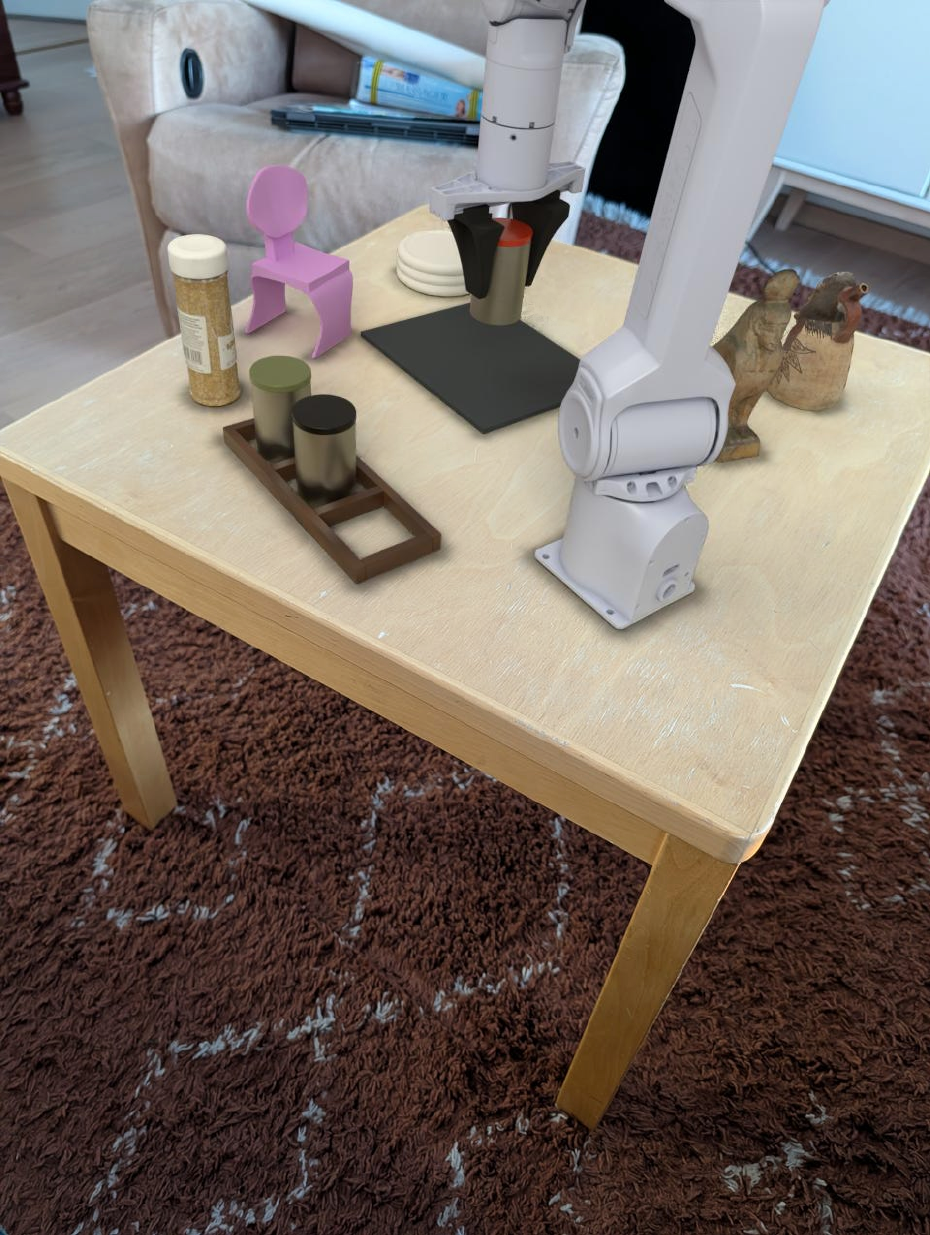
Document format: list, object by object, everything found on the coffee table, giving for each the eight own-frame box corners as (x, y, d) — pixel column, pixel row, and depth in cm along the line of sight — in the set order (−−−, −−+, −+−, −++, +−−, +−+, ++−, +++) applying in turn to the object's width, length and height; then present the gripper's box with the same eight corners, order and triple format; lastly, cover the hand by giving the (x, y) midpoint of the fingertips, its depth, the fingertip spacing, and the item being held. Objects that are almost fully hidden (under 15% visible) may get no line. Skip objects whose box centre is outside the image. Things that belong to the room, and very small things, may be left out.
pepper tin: (368, 499, 73) (368, 417, 67) (315, 518, 70) (312, 435, 65) (336, 469, 75) (335, 387, 70) (285, 487, 73) (279, 404, 68)
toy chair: (312, 365, 86) (305, 201, 76) (237, 337, 89) (221, 175, 79) (361, 331, 92) (362, 174, 81) (290, 306, 95) (281, 150, 84)
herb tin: (324, 457, 76) (322, 376, 71) (273, 474, 74) (267, 392, 69) (296, 430, 79) (292, 349, 73) (246, 445, 76) (238, 364, 71)
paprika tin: (532, 318, 82) (544, 234, 76) (490, 330, 79) (500, 244, 74) (499, 297, 84) (508, 213, 79) (458, 308, 82) (465, 223, 77)
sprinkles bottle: (250, 400, 81) (235, 250, 72) (200, 413, 79) (179, 260, 70) (229, 376, 84) (212, 228, 75) (180, 388, 82) (157, 236, 73)
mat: (614, 387, 88) (615, 382, 88) (483, 434, 81) (483, 429, 80) (487, 302, 99) (487, 297, 99) (360, 336, 91) (360, 331, 91)
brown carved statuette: (750, 477, 83) (849, 314, 69) (696, 482, 82) (785, 316, 67) (701, 387, 90) (782, 218, 75) (650, 390, 88) (722, 219, 73)
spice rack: (440, 549, 69) (441, 534, 68) (356, 584, 65) (356, 568, 64) (302, 418, 80) (301, 403, 79) (223, 442, 77) (222, 427, 75)
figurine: (812, 371, 94) (856, 254, 85) (853, 408, 89) (904, 288, 81) (751, 377, 92) (791, 258, 83) (790, 415, 87) (836, 293, 79)
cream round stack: (432, 251, 107) (434, 220, 105) (503, 278, 103) (507, 247, 101) (377, 277, 101) (378, 245, 98) (450, 307, 97) (453, 275, 95)
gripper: (555, 92, 76) (533, 254, 86) (410, 112, 69) (404, 286, 79) (613, 118, 72) (583, 284, 82) (466, 142, 65) (453, 320, 75)
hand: (499, 287), depth 80 cm, fingers closed on paprika tin, 4 cm apart
